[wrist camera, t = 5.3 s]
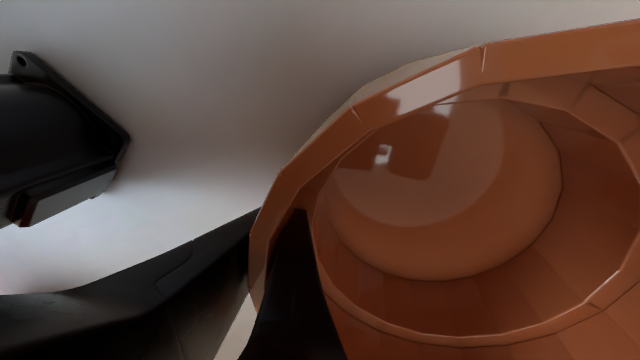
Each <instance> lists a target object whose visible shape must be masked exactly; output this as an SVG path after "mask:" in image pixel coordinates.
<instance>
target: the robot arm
mask: <svg viewBox="0 0 640 360" xmlns="http://www.w3.org/2000/svg"><path fill="white" fill-rule="evenodd" d="M129 144H130V137H129V135H128V134H127V133H126V132H125V131H124V130H123V129H122V128H121V127H119V126H118V125H117V124H116V123H115V122H113V121H112V120H111V119H110V118H109V117H107V116H106V115H105V114H104V113H103V112H101V111H100V110H99V109H98V108H97V107H96V106H94V105H93V104H92V103H91V102H90V101H88V100H87V99H86V98H85V97H84V96H82V95H81V94H80V93H79V92H78V91H76V90H75V89H74V88H73V87H72V86H71V85H69V84H68V83H67V82H66V81H65V80H63V79H62V78H61V77H60V76H59V75H57V74H56V73H55V72H54V71H53V70H52V69H50V68H49V67H48V66H47V65H46V64H44V63H43V62H42V61H41V60H40V59H38V58H37V57H36V56H35V55H34V54H32V53H31V52H28V51H14V52H13V54H12V58H11V63H10V68H9V73H8V74H1V75H0V229H1V228H4V227H6V226H8V225H10V224H13V223H14V224H15V225H17V226H18V227H30V226H33V225H35V224H37V223H39V222H41V221H43V220H45V219H47V218H49V217H51V216H54V215H56V214H58V213H60V212H62V211H64V210H66V209H68V208H70V207H72V206H75V205H77V204H79V203H81V202H83V201H85V200H87V199H94V198H96V197H98V196H99V195H100V194H101V193H102V192H104V191H105V190H106V189H107V187H108V185H109V183H110V182H111V180H112V178H113V176H114V175H115V173H116V171H117V169H118V163H119V161H120V159H121V158H122V156H123V154H124V152H125V151H126V149H127V147H128V145H129ZM260 209H261V207H260V208H258V209H255V210H253V211H251V212H249V213H247V214H245V215H243V216H241V217H239V218H237V219H235V220H233V221H231V222H228V223H226V224H224V225H222V226H220V227H218V228H216V229H214V230H212V231H210V232H208V233H206V234H204V235H202V236H199V237H197V238H195V239H194V240H193V241H192V240H191V241H189V242H187V243H185V244H183V245H181V246H178V247H176V248H174V249H172V250H170V251H168V252H165V253H163V254H161V255H158V256H156V257H154V258H151V259H149V260H146V261H144V262H142V263H139V264H137V265H134V266H132V267H129V268H127V269H124V270H122V271H119V272H117V273H114V274H112V275H109V276H107V277H104V278H102V279H99V280H97V281H94V282H92V283H89V284H86V285H83V286H80V287H77V288H73V289H68V290H64V291H57V292H48V293H32V294H14V295H0V360H214V358H215V356H216V354H217V352H218V350H219V348H220V346H221V344H222V342H223V340H224V338H225V337H226V335H227V333H228V331H229V329H230V327H231V325H232V323H233V321H234V319H235V317H236V315H237V314H238V312H239V310H240V308H241V306H242V304H243V302H244V300H245V298H246V296H247V294H248V292H249V291H248V288H247V286H248V285H247V278H248V252H249V234H250V230H251V228H252V226H253V224H254V222H255V220H256V218H257V216H258V213H259V211H260ZM238 360H348V357H347V355H346V353H345V351H344V348H343V345H342V343H341V340H340V337H339V335H338V332H337V329H336V326H335V324H334V321H333V318H332V315H331V313H330V310H329V307H328V304H327V301H326V298H325V295H324V292H323V289H322V285H321V280H320V276H319V271H318V268H317V262H316V257H315V251H314V246H313V241H312V236H311V231H310V226H309V221H308V216H307V211H306V210H305V209H300V208H296V210H295V211H294V213H293V214H292V216H291V217H290V219H289V221H288V222H287V224H286V227H285V230H284V233H283V236H282V239H281V242H280V245H279V248H278V252H277V255H276V258H275V261H274V264H273V267H272V270H271V274H270V277H269V280H268V283H267V286H266V289H265V292H264V296H263V299H262V302H261V305H260V308H259V311H258V314H257V318H256V321H255V324H254V327H253V330H252V333H251V336H250V338H249V340H248V343H247V345H246V347H245V348H244V350H243V352H242V353H241V355H240V356H239V358H238Z"/></svg>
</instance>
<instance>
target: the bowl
mask: <svg viewBox="0 0 640 360" xmlns="http://www.w3.org/2000/svg"><path fill="white" fill-rule="evenodd" d="M296 208H300V209H305V210H306V211H307V216H308V221H309V226H310V231H311V236H312V241H313V246H314V251H315V257H316V262H317V268H318V271H319V276H320V280H321V285H322V289H323V292H324V295H325V298H326V301H327V304H328V307H329V310H330V313H331V315H332V318H333V321H334V324H335V326H336V329H337V332H338V335H339V337H340V340H341V343H342V345H343V348H344V351H345V353H346V355H347V357H348V360H640V18H638V19H631V20H625V21H619V22H613V23H607V24H600V25H594V26H588V27H582V28H576V29H569V30H563V31H557V32H551V33H544V34H538V35H532V36H526V37H520V38H513V39H507V40H501V41H495V42H488V43H483V44H479V45H476V46H472V47H468V48H464V49H460V50H456V51H452V52H449V53H445V54H441V55H437V56H433V57H429V58H425V59H421V60H418V61H414V62H411V63H408V64H406V65H404V66H402V67H400V68H398V69H396V70H394V71H392V72H390V73H388V74H386V75H384V76H382V77H380V78H378V79H376V80H374V81H372V82H370V83H368V84H365V85H363V86H362V87H361V88H359V89H358V90H357V91H356V92H355V93H354V94H353V95H352V96H351V97H350V98H349V99H348V100H347V101H346V102H345V103H344V104H343V105H342V106H340V107H339V108H338V109H337V110H336V111H335V112H334V113H333V114H332V115H331V116H330V117H329V118H328V119H327V120H326V121H325V122H324V123H323V124H322V125H321V126H320V128H319V129H318V130H317V131H316V132H315V133H314V134H313V135H312V136H311V137H310V138H309V139H308V141H307V142H306V143H305V144H304V145H303V146H302V147H301V148H300V149H299V150H298V151H297V152H296V154H295V155H294V156H293V157H292V158H291V159H290V160H289V161H288V162H287V163H286V164H285V165H284V167H283V168H282V169H281V170H280V172H279V173H278V174H277V177H276V179H275V181H274V183H273V185H272V187H271V189H270V191H269V193H268V195H267V197H266V199H265V201H264V203H263V205H262V207H261V209H260V211H259V213H258V216H257V218H256V220H255V222H254V224H253V226H252V228H251V230H250V234H249V252H248V278H247V285H248V286H247V288H248V291H249V293H250V296H251V299H252V302H253V304H254V307H255V310H256V312H257V314H258V311H259V308H260V305H261V302H262V299H263V296H264V292H265V289H266V286H267V283H268V280H269V277H270V274H271V270H272V267H273V264H274V261H275V258H276V255H277V252H278V248H279V245H280V242H281V239H282V236H283V233H284V230H285V227H286V224H287V222H288V221H289V219H290V217H291V216H292V214H293V213H294V211H295V210H296Z"/></svg>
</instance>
